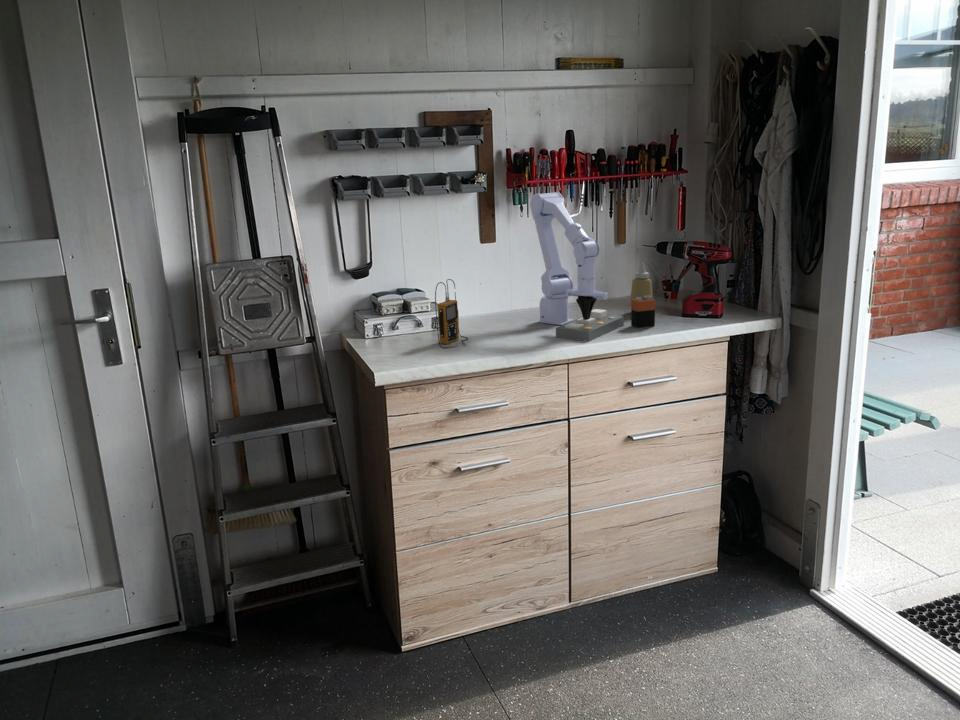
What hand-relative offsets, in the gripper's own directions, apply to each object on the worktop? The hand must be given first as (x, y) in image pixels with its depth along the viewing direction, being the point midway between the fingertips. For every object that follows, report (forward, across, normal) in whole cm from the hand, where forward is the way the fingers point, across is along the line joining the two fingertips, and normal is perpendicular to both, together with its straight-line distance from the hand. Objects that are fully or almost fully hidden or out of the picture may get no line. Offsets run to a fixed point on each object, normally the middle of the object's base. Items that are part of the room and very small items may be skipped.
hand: (586, 319), depth 256 cm
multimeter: (+4, -28, -33) cm, 43 cm away
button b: (+3, 0, 0) cm, 3 cm away
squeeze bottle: (+4, +4, +32) cm, 33 cm away
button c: (+2, 0, +8) cm, 8 cm away
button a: (+3, 0, -8) cm, 9 cm away
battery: (+4, +14, +14) cm, 20 cm away
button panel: (+4, +2, 0) cm, 4 cm away
